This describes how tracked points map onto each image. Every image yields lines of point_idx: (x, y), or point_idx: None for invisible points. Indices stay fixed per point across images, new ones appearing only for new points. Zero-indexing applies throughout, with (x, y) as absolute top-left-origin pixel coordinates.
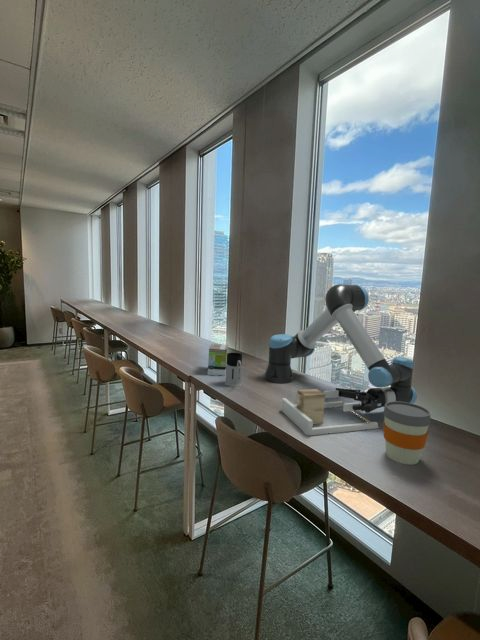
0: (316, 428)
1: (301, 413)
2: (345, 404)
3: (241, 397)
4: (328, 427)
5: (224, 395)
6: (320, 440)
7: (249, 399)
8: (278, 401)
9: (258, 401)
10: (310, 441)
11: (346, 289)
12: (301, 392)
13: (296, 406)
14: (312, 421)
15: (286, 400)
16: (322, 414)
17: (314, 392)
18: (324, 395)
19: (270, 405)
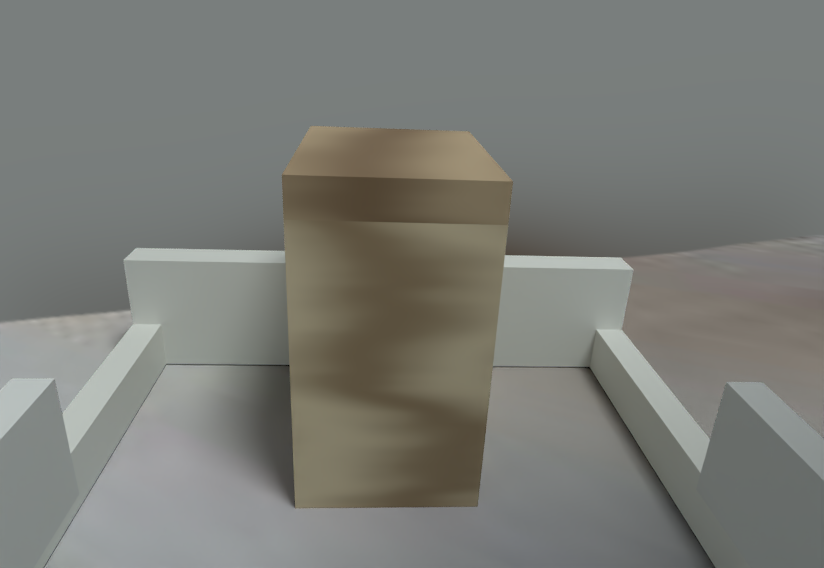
0: (128, 344)
1: (284, 256)
2: (4, 389)
3: (782, 271)
4: (76, 408)
5: (774, 240)
6: (39, 376)
7: (764, 286)
8: (820, 384)
9: (748, 306)
10: (77, 336)
11: None
12: (396, 129)
13: (633, 390)
14: (125, 262)
15: (570, 262)
16: (294, 414)
17: (376, 154)
18: (283, 189)
19: (691, 331)
